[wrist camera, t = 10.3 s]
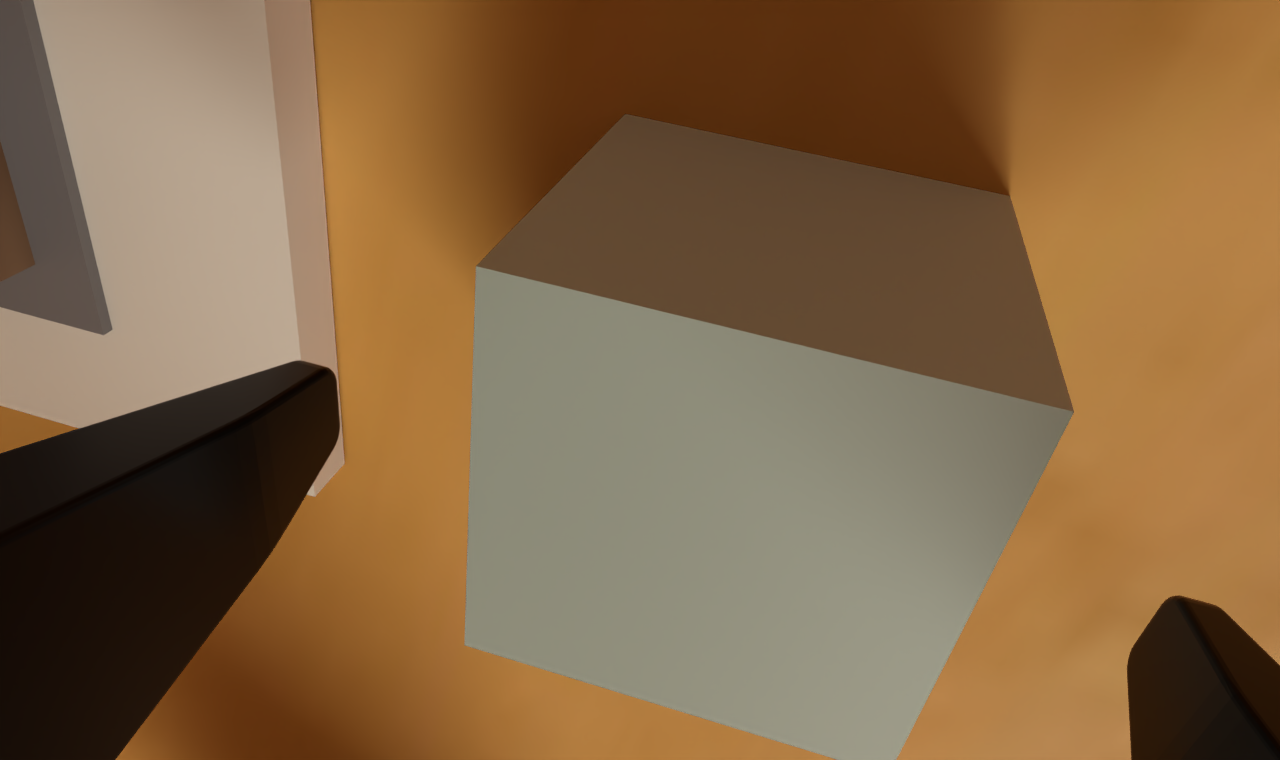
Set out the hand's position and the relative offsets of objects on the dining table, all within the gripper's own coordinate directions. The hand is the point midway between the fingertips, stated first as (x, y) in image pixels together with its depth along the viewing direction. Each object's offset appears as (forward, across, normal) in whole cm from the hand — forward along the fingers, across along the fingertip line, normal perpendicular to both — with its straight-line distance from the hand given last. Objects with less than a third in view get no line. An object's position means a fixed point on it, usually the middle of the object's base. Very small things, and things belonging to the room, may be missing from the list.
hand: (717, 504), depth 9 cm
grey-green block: (+4, 0, 0) cm, 4 cm away
